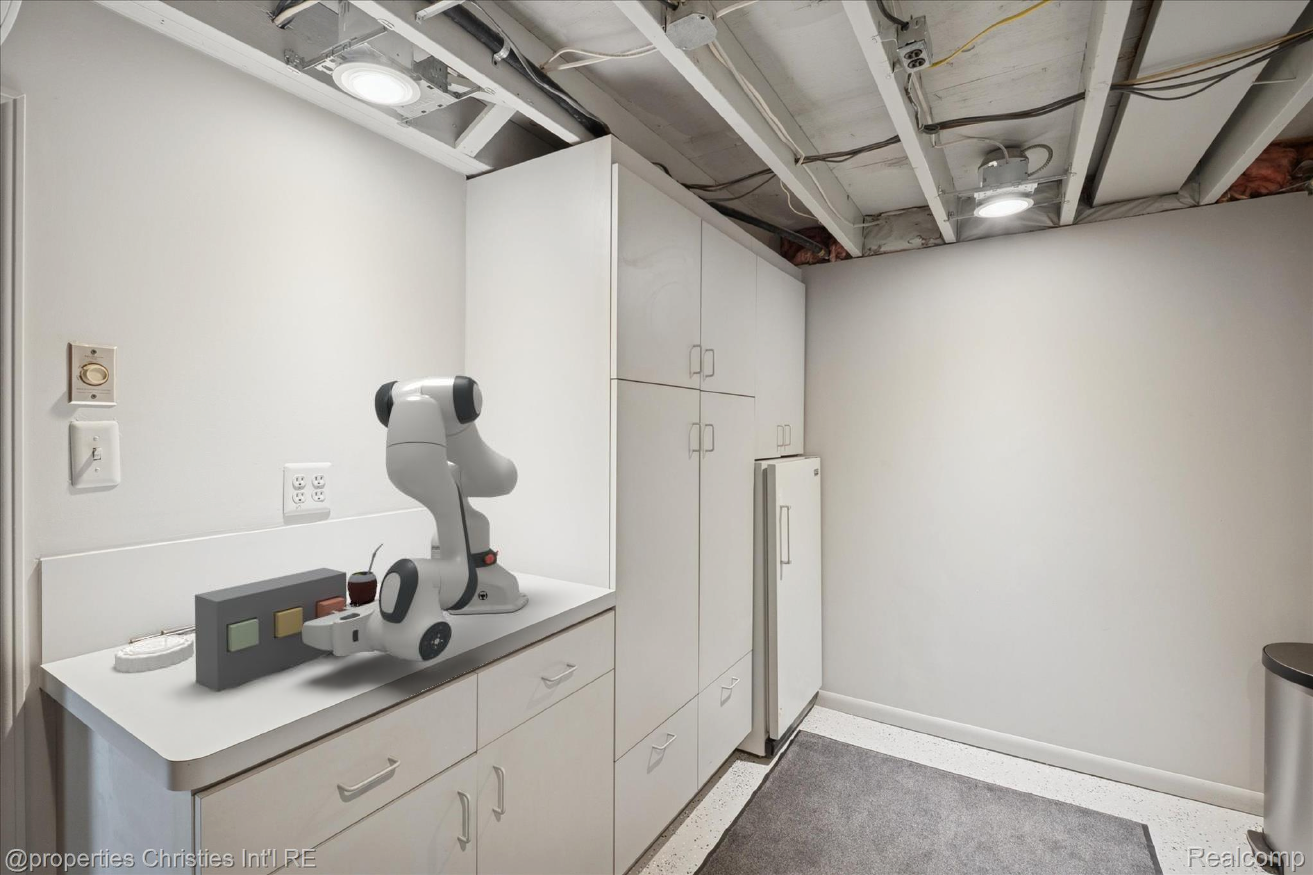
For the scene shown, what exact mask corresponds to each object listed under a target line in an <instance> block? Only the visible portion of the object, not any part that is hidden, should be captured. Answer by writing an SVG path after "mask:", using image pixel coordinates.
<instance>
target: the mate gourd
mask: <svg viewBox="0 0 1313 875" xmlns="http://www.w3.org/2000/svg"><path fill="white" fill-rule="evenodd" d="M383 545H384V543H380V545H379V546H378V547H377V548H376V549H375V551H374V552H372V555H371V560H370V565H369V566H368V570H367V571H357V572H353V573H352V574H350V576H349V577H348V578H347V580H348V581H347V582H346V589H347V593H348V597H349V600H350V602H349V605H350V604H358V605H356V607H360V606H363V604H364V605H367V604H370V603H372V602H375V601H376V600H375V599H376V596H377V589H378V579H377V576H376V574H375V573H374V572H373V571H371V570H372V568H373V567H372V566H373V565H374V560H375V558H376V556H377V552H378V551H379V550H380V548H381V547H382V546H383Z"/></svg>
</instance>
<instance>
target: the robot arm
mask: <svg viewBox="0 0 1313 875" xmlns="http://www.w3.org/2000/svg"><path fill="white" fill-rule="evenodd" d="M482 408H483V394H482V391H481V389H480V387H479V384H478V382H477V381H476V380H474V379H473V377H471V376H465V375H455V376H441V375H439V376H437V375H434V376H425V377H421V378H420V377H417V378H412V379H406V380H401V381H398V380H394V381H390V382H387V383H384V384H381V386H380V387H379V388H378V389H377V391H376V393H375V397H374V409H375V410H374V411H375V414H376V417H377V420H378V421H379V423H380V424H381V425H383V426H384V427H385V428H387V431H386V439H385V440H386V441H385V442H386V443H385V444H386V445H385V468H386V473H387V477H388V479H389V481H390V482H391V483H392V485H393V486H394V488H396V489H397V490H398V491H400V492H401V493H402V494H404V495H406V496H407V497H409V498H411V499H414V500H415V501H416V502H418V503H420V504H421V505H423V506H424V507H425V508H426V509H427V510H428V511H429V512H430V513H431V514H432V516H433V519H434V521H435V525H436V530H437V533H438V540H439V547H440V554H441V558H440V559H431V558H425V557H424V558H422V557H421V558H415V557H413V558H410V557H409V558H405V557H404V558H400V559H399V560H396V561H395V562H394V563H393V564H392V565H390V567H389V568H388V569H387V571H386V572H385V574H384V575H383V578H382V580H381V583H380V586H379V593H378V600H374V602H372V603H370V604H364V605H362V606H360V607H357V606H356V607H350V608H348V607H347V608H345V607H344V608H341V609H338V610H334V611H331V612H330V615H329V616H325V617H322V618H318V619H315V620H311V621H307V622H305V623H304V624H303V627H302V639H303V642H304V643H305V644H307V645H309V646H312V647H315V648H318V649H322V650H333V653H332V654H333V655H334V656H338V657H342V656H347V655H353V654H358V653H364V652H365V653H372V652H373V653H374V652H379V653H384V654H389V655H391V656H392V657H395V658H399V659H401V660H405V661H410V662H421V663H422V662H423V663H424V662H428V661H432V660H434V659H435V658H437V657H438V656H440V655H442V653H443V652H444V651H445V650H446V649H447V648H448V646H449V644H450V641H451V640H452V639H451V638H452V635H453V630H452V626H451V624H450V623H449V621H448V620H447V619H446V617H445V616H444V614H443V611H448V613H450V614H452V615H469V614H470V615H472V614H497V613H498V614H499V613H513V612H516V611H518V610H520V609H522V608H524V606H525V605H526V604H528V601H529V596H528V594H526V593H525V592H524V593H523V592H521V591H520V585H519V584H520V583H519V580H518V578H517V577H516V575H514V574H513V573H511V572H510V571H509V570H508V569H506V568H505V567H503V566H502V565H500V564H499V563H498V562H497V561H498V556H499V550H496V551H494V549H492V548H491V546H490V543H491V542H490V541H491V540H490V535H491V534H490V533H491V532H490V529H491V527H490V521H489V518H488V517H487V516H486V515H485V514H484V513H483V512H481V511H479V510H477V509H475V508H473V506H472V505H471V503H470V501H469V498H488V499H489V498H498V497H501V496H507V495H510V494H511V493H512V492H513V490H514V489H515V487H516V485H517V482H518V475H519V474H518V470H517V467H516V465H515V463H514V462H513V461H512V460H511V459H510V458H509V457H506V456H503V455H501V454H499V453H498V452H496V451H495V450H494V449H492V447H491V446H489V445H488V444H487V443H486V441H484V440H483V438H482V437H481V435H480V433H479V430H478V427H477V425H476V422H475V421H476V420H478V418H479V417H480V416H481V413H482Z"/></svg>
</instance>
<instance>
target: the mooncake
mask: <svg viewBox="0 0 1313 875" xmlns="http://www.w3.org/2000/svg"><path fill="white" fill-rule="evenodd" d="M194 644H195V643H194V639H193V638H192V637H191V636H187V635H178V634H173V635H165V636H164V635H163V636H162V635H161V636H153V637H150V638H144V639H141V640H139V641H136V642H133V643H130V644H126V645H125V646H123V647H121V648H120V649H118V650H117V652H115V653H114V669H115V670H116V671H118V672H121V673H130V674H131V673H132V674H133V673H137V672H138V673H144V672H148V671H156V670H159V669H164V668H165V669H166V668H169V667H172V666H173V665H178V664H180V663H182V662H184V661H188V659H189V658H191V657H193V654H195V652H194V650H195V649H194Z"/></svg>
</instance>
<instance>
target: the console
mask: <svg viewBox="0 0 1313 875" xmlns="http://www.w3.org/2000/svg"><path fill="white" fill-rule="evenodd" d="M335 597H339V598H343V599H346V608H348V607H347V606H348V605H347V604H348V602H347V600H348V599H347V572H346V571H341V570H337V569H332V568H327V567H321V568H316V569H311V570H306V571H302V572H298V573H292V574H286V575H282V576H278V577H277V576H276V577H272V578H268V579H264V580H259V581H254V582H250V583H245V584H240V585H235V586H230V587H225V588H222V589H217V590H210V591H207V592H201V593H196V594H194V626H195V627H194V628H195V630H194V631H195V635H194V636H195V637H194V638H195V640H194V641H195V643H194V644H195V682H196V683H198V684H200V685H202V686H204V687H206V688H209V689H211V690H212V691H215V692H217V693H218V692H221V691H224V690H227V689H230V688H233V687H236V686H240V685H241V684H245V683H248V682H251V681H253V680H257V679H259V678H262V677H265V676H269V675H271V674H274V673H277V672H279V671H280V672H281V671H283V670H286V669H289V668H292V667H295V666H297V665H301V664H303V663H306V662H310V661H312V660H315V659H319V658H321V657H323V656H324V657H325V656H326V655H330V654H334V653H333V650H322V649H318V648H315V647H312V646H309V645H307V644H305V643H304V642H303V639H302V631H300V632H297V633H293V634H290V635H286V636H283V637H280V638H279V637H276V636H274V612H278V611H281V610H285V609H289V608H293V607H299V608H302V616H303V624H304V623H305V622H307V621H311V620H315V619H316V602H319V601H323V600H327V599H331V598H335ZM250 618H254V619H257V620H258V633H259V644H256V645H252V646H249V647H246V648H242V649H239V650H235V651H229V650H227V624H231V623H235V622H239V621H243V620H246V619H250Z"/></svg>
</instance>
